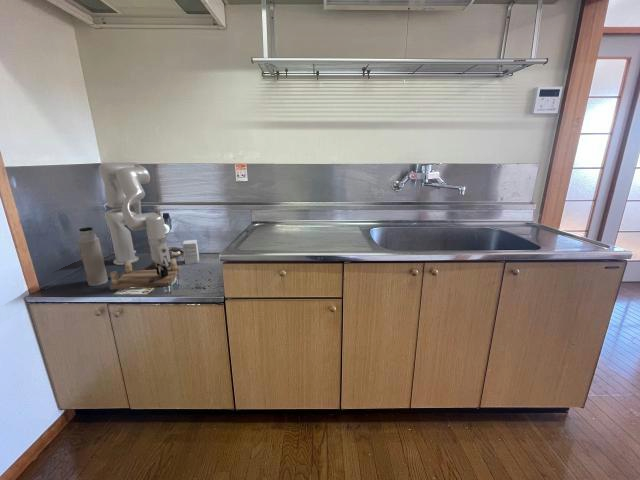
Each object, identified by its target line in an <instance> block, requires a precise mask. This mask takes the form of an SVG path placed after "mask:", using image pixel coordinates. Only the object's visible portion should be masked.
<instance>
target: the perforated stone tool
mask: <svg viewBox="0 0 640 480" xmlns="http://www.w3.org/2000/svg"><path fill="white" fill-rule="evenodd" d="M168 250H169V255H170V259H174V255H173V251H172V250H171V249H168ZM163 263H164V262H163ZM153 265H154V267H155V268H156V266H155V262H154V261H153Z"/></svg>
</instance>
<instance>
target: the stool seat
mask: <svg viewBox="0 0 640 480" xmlns="http://www.w3.org/2000/svg"><path fill="white" fill-rule="evenodd" d="M170 261H171V262H170V263H169V264H170V265H169V266H170V268H168V269H167V270H168V276H167V277H164V278H161V279H158V280H156V281H154V282H149V278H151V277H157V276H159V275H157V270H156V269H146V270H145V269H142V270H133V265H132V263H131V261H125V262H124V270H125V272H124V273H123V274H122V275H121V276H120V277H119V273H118V270H113V271H111V272H109V276H110V277H109V278H110V281H111V284H110V285H109V290H110V291H112V290H114V291H115V289H116V290H123V289H122V288H130V287H146V288H155V287H156V286H160V287H169V286H170V285H171V284H172V283H173V281H174V280H175V279H176V278H177V276H178V275H179V273H180V272H181V271H180V268H178V264H177V259H176V258H173V259H170ZM156 288H157V287H156Z"/></svg>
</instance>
